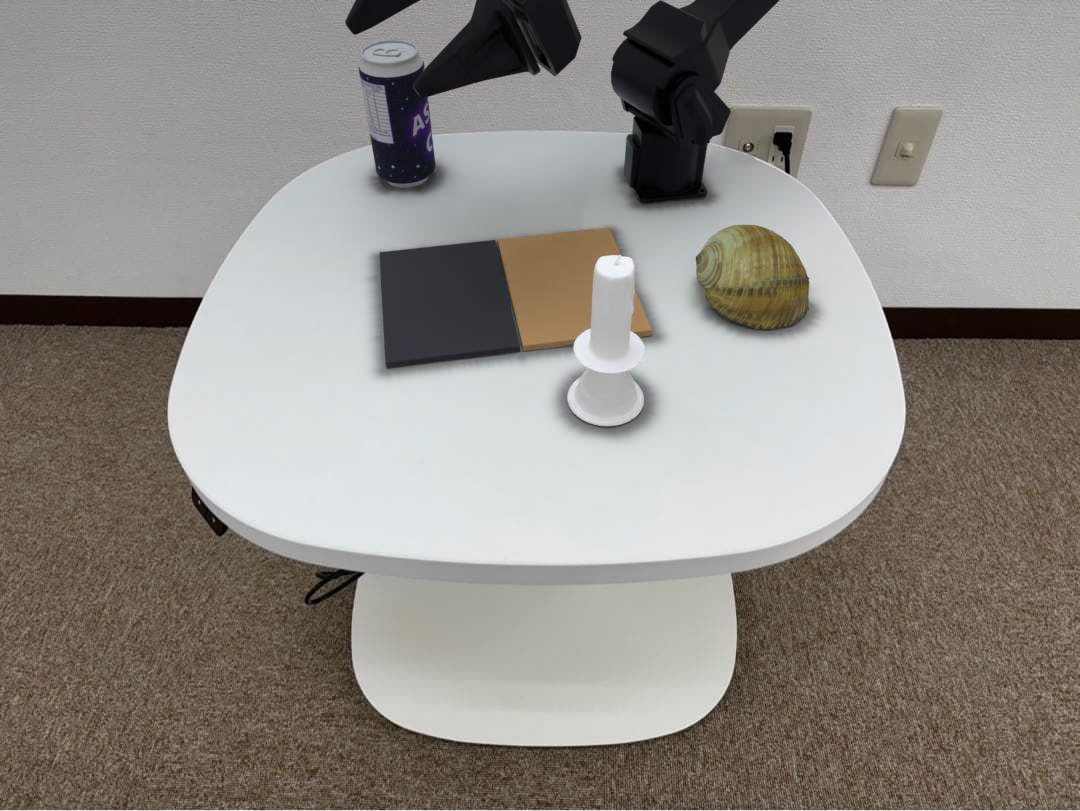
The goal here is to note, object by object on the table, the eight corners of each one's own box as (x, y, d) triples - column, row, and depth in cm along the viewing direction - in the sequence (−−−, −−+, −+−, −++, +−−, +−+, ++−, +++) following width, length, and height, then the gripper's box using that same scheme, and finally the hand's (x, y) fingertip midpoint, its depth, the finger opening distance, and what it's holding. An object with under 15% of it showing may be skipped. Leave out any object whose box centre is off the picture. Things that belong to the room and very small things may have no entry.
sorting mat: (609, 233, 70) (609, 227, 70) (651, 335, 61) (652, 329, 60) (380, 257, 68) (379, 251, 68) (386, 368, 58) (385, 362, 58)
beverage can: (426, 194, 75) (410, 66, 66) (369, 188, 76) (346, 61, 67) (443, 164, 79) (430, 40, 70) (389, 159, 80) (369, 35, 71)
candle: (612, 363, 58) (623, 222, 50) (659, 406, 55) (679, 264, 47) (552, 392, 56) (552, 250, 48) (597, 439, 53) (606, 296, 45)
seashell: (784, 332, 67) (792, 235, 66) (831, 333, 60) (841, 225, 59) (675, 325, 65) (682, 225, 64) (711, 325, 58) (719, 213, 57)
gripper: (423, -271, 50) (244, -97, 51) (608, -175, 42) (390, 33, 42) (492, -112, 60) (342, 31, 61) (654, -8, 51) (476, 158, 52)
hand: (381, 59), depth 54 cm, fingers open, 9 cm apart
